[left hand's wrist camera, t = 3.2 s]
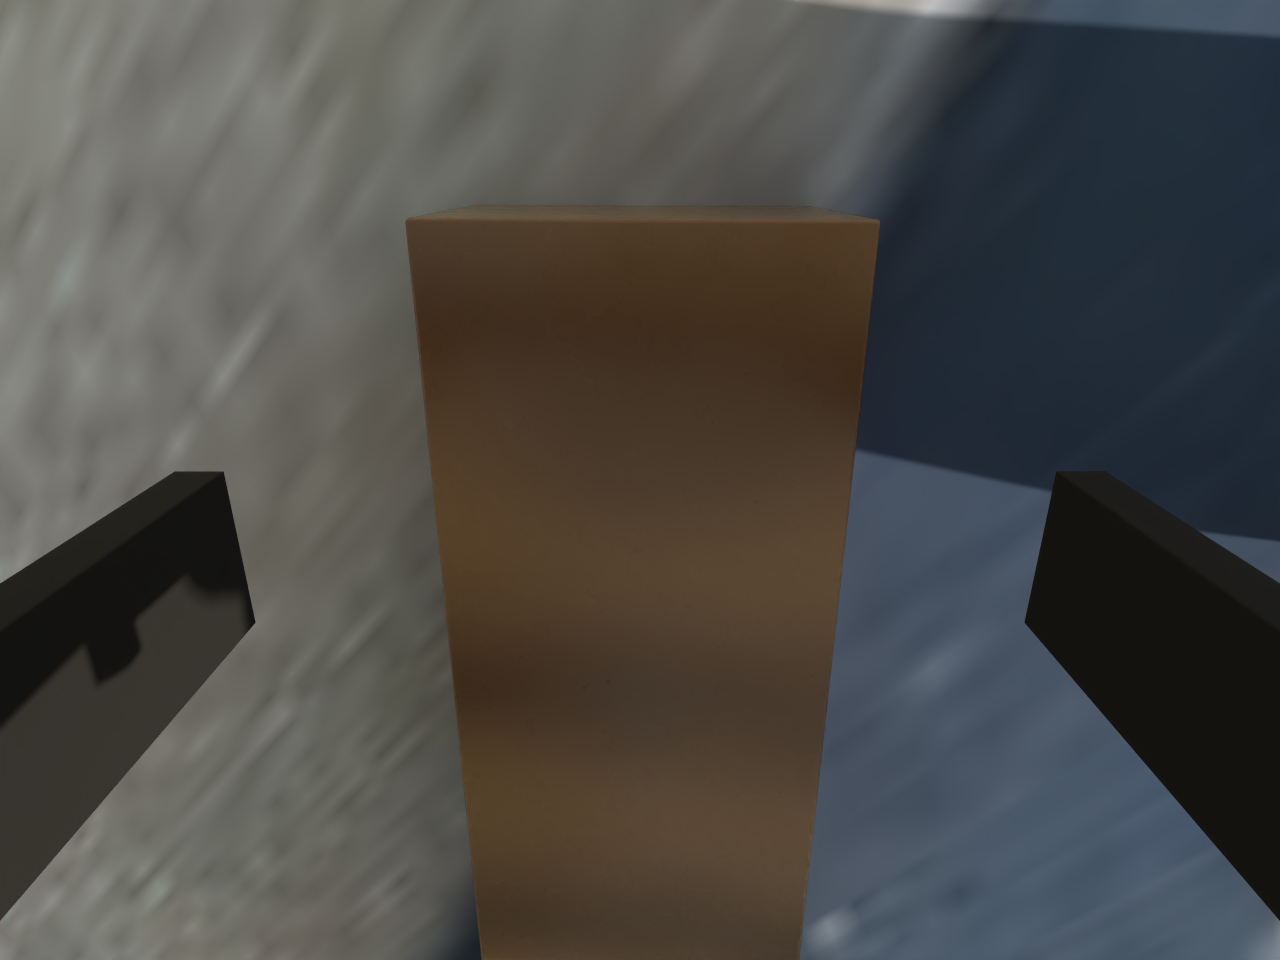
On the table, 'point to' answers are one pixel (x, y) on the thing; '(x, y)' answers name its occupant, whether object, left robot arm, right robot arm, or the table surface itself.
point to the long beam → (641, 558)
